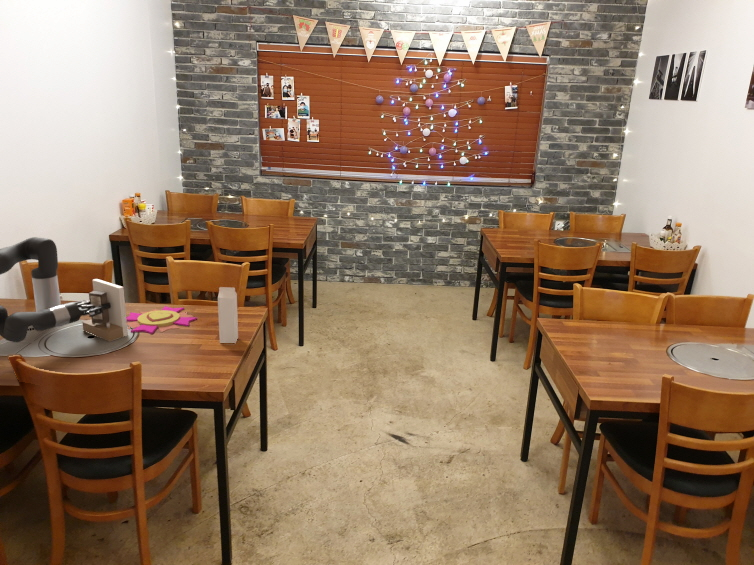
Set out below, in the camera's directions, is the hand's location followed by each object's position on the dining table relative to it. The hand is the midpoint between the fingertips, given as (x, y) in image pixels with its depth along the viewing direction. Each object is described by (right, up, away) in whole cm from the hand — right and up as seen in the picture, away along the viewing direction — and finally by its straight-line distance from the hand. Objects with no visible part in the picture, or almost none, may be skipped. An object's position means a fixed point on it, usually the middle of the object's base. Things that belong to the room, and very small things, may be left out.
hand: (104, 303), depth 228 cm
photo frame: (-2, -7, 0) cm, 7 cm away
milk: (+49, -15, +1) cm, 51 cm away
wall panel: (-1, -12, +3) cm, 12 cm away
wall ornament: (+14, -8, +19) cm, 25 cm away
